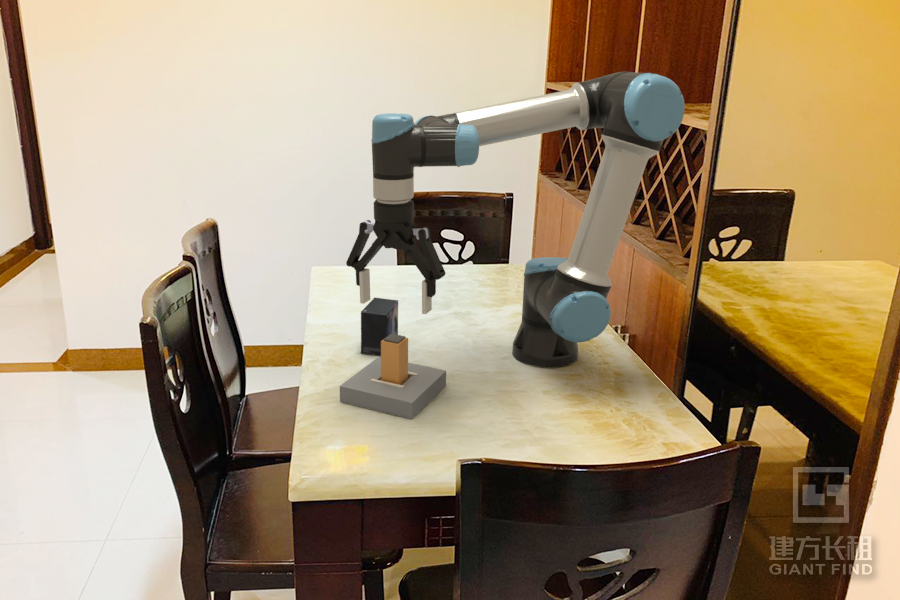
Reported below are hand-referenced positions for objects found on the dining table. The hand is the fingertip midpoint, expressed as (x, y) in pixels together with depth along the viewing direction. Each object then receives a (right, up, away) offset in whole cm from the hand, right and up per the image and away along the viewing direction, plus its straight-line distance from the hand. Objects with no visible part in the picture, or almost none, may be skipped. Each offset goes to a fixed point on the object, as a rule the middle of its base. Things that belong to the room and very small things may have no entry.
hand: (395, 306), depth 142 cm
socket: (-1, -18, +6) cm, 19 cm away
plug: (-1, -18, +6) cm, 19 cm away
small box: (-6, -10, +29) cm, 31 cm away
